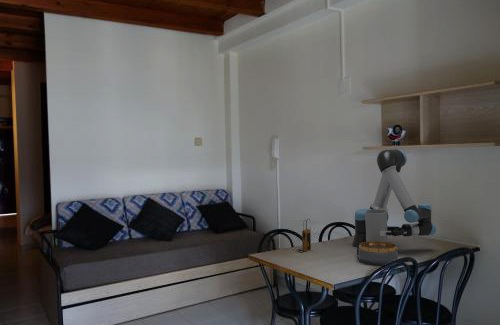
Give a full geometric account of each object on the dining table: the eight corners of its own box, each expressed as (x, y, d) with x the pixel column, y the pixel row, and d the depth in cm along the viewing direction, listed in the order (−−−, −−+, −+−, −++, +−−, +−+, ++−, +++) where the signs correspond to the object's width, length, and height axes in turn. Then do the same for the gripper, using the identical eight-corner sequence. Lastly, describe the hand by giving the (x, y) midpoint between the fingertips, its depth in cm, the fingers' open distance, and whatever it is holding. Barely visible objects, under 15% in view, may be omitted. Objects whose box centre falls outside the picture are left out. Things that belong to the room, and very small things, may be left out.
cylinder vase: (391, 253, 261) (390, 212, 259) (371, 255, 259) (370, 214, 257) (382, 248, 273) (381, 208, 271) (363, 250, 272) (361, 210, 269)
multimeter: (299, 246, 287) (298, 216, 287) (313, 248, 282) (312, 217, 281) (289, 251, 275) (288, 219, 274) (304, 253, 269) (303, 220, 269)
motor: (347, 258, 253) (347, 243, 253) (373, 253, 264) (373, 238, 264) (379, 267, 233) (379, 251, 233) (405, 261, 244) (405, 245, 243)
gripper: (419, 240, 255) (384, 242, 253) (400, 232, 280) (368, 233, 278) (419, 227, 255) (383, 229, 253) (400, 220, 279) (368, 222, 277)
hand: (375, 231), depth 265 cm, fingers closed on cylinder vase, 12 cm apart
